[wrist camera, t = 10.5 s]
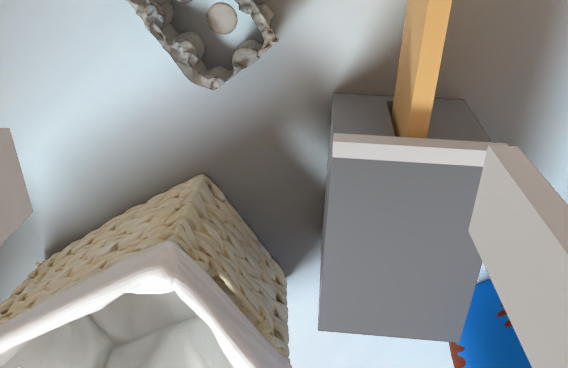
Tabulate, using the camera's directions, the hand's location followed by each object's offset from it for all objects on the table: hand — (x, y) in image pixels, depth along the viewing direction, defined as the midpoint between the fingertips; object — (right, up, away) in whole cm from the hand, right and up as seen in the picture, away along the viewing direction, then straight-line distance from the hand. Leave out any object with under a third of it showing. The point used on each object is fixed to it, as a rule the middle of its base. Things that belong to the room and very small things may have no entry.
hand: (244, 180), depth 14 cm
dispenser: (+10, +1, +27) cm, 29 cm away
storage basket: (-11, -8, +35) cm, 38 cm away
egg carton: (-5, +13, +22) cm, 26 cm away
